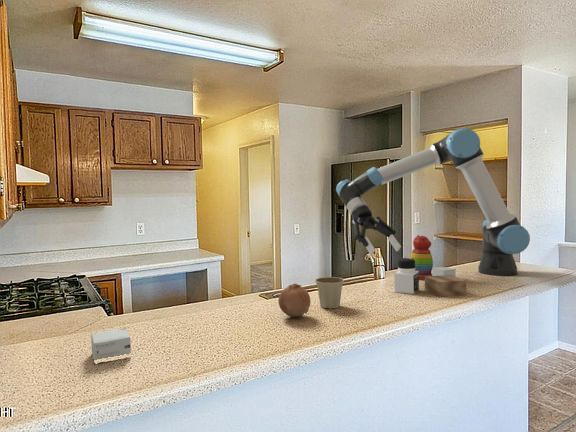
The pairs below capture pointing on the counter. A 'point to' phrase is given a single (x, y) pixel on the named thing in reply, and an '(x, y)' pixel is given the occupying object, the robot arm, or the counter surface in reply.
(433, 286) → the walnut block
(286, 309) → the onion
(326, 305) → the flower pot
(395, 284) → the medicine bottle
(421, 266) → the stacking bear
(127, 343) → the small box
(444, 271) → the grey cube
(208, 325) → the counter surface
